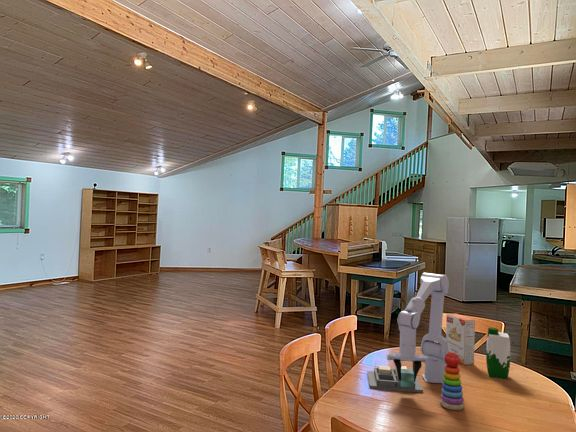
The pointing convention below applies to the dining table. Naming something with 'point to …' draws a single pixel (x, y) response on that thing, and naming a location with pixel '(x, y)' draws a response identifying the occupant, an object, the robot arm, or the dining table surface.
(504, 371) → the milk carton
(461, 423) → the dining table surface
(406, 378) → the teal block
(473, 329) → the cracker box
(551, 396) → the dining table surface
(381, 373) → the puzzle board
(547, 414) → the dining table surface
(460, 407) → the stacking toy
